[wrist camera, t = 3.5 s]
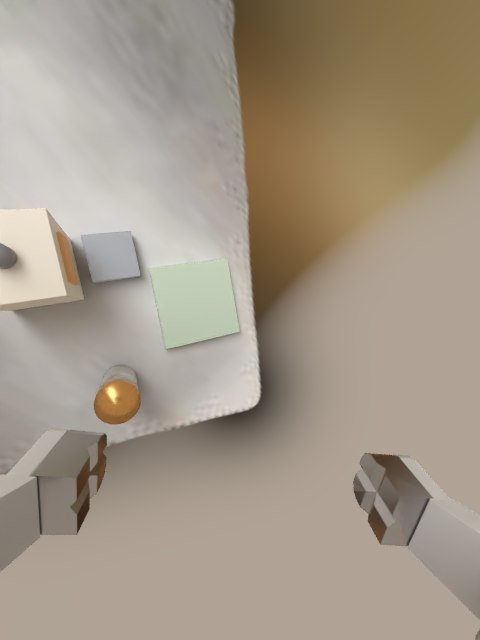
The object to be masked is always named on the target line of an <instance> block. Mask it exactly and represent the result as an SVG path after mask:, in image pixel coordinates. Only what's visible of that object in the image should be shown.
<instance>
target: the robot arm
mask: <svg viewBox="0 0 480 640" xmlns="http://www.w3.org/2000/svg"><path fill="white" fill-rule="evenodd" d="M106 445H107V435H106V434H105V433H96V432H86V431H76V430H63V429H53V428H51V429H49V430H47V431H46V432H45V433H44V434H43V435H42V436H41V437H40V438H39V439H38V440H37V441H36V443H35V444H34V445H33V446H32V447H31V448H30V449H29V450H28V451H27V452H26V454H25V455H24V456H23V457H22V458H21V459H20V460H19V461H18V462H17V463H16V465H15V466H14V467H13V468H12V469H11V470H10V471H9V472H8V473H7V474H6V475H0V572H1V571H2V570H3V569H4V568H5V567H6V566H8V565H9V564H10V563H11V562H12V561H13V560H14V559H16V558H17V557H18V556H19V555H20V554H21V553H22V552H23V551H25V550H26V549H27V548H28V547H29V546H30V545H32V544H33V543H34V542H35V541H36V540H37V539H38V538H39V537H40V535H43V534H45V535H48V534H49V535H53V534H54V535H55V534H56V535H66V534H67V535H77V533H78V531H79V530H80V527H81V525H82V523H83V521H84V519H85V517H86V515H87V513H88V511H89V505H90V503H89V502H90V498H92V497H93V496H94V495H96V494H97V492H98V490H99V488H100V485H101V483H102V480H103V477H104V474H105V468H106V456H105V455H104V453H103V451H104V449H105V447H106ZM360 465H361V467H362V469H361V470H360V471H358V472H357V473H356V475H355V478H354V482H353V484H354V493H355V497H356V499H357V502H358V504H359V505H360V507H361V508H362V509H363V510H365V511H366V512H367V513H368V514H369V515H368V522H369V524H370V526H371V528H372V530H373V532H374V534H375V535H376V537H377V539H378V541H379V543H380V544H381V545H396V546H408V549H409V550H410V551H411V552H412V553H413V554H414V555H415V556H416V557H417V558H418V559H419V560H420V561H421V562H422V563H423V564H424V565H425V566H426V567H427V568H428V569H429V570H430V571H431V572H432V573H433V574H434V575H435V576H436V577H437V578H438V579H439V580H440V581H441V582H442V583H443V584H444V585H445V586H446V587H447V588H448V589H449V590H450V591H451V592H452V593H453V594H454V595H455V596H456V597H457V598H458V599H459V600H460V601H461V602H462V603H463V604H464V605H465V606H466V607H467V608H468V609H469V610H470V611H471V612H472V613H473V614H474V615H475V616H476V617H477V618H478V619H479V620H480V516H479V515H478V514H476V513H475V512H473V511H471V510H470V509H468V508H467V507H465V506H464V505H462V504H460V503H459V502H457V501H456V500H450V499H449V498H448V496H447V495H446V494H445V493H444V492H443V491H442V490H441V488H440V487H439V486H438V485H437V484H436V483H435V482H434V481H433V480H432V479H431V477H430V476H429V475H428V474H427V473H426V472H425V471H424V470H423V469H422V467H421V466H420V465H419V464H418V463H417V462H416V461H415V460H414V459H413V458H412V457H410V456H407V455H385V454H384V455H383V454H370V453H365V454H364V455H363V456H362V458H361V460H360ZM475 640H480V630H479V631H478V633H477V634H476V638H475Z"/></svg>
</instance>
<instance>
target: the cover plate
mask: <svg viewBox="0 0 480 640" xmlns="http://www.w3.org/2000/svg"><path fill="white" fill-rule="evenodd" d="M81 238H82V242H83V246H84V250H85V254H86V259H87V263H88V267H89V271H90V275H91V279H92V282H93V283H101V282H108V281H115V280H122V279H129V278H136V277H140V270H139V266H138V261H137V257H136V252H135V248H134V243H133V239H132V235H131V231H125V232H113V233H100V234H88V235H81Z"/></svg>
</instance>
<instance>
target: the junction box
mask: <svg viewBox="0 0 480 640" xmlns="http://www.w3.org/2000/svg"><path fill="white" fill-rule="evenodd" d="M79 300H85V299H84V295H83V290H82V286H81V282H80V278H79V274H78V269H77V265H76V261H75V257H74V252H73V248H72V244H71V240H70V238H69V237H68V236H67V235H66V233H65V232H64V231H63V230H62V228H61V227H60V226H59V225H58V223H57V222H56V221H55V219H54V218H53V217H52V216H51V214H50V213H49V212H48V211H47V209H46V208H34V209H4V210H0V311H12V310H19V309H26V308H32V307H39V306H46V305H52V304H59V303H66V302H72V301H79Z"/></svg>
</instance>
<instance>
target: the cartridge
mask: <svg viewBox="0 0 480 640" xmlns="http://www.w3.org/2000/svg"><path fill="white" fill-rule="evenodd" d="M139 407H140V393H139V390H138V386H137V379H136V374H135V372H134V370H133V369H132V368H130V367H128V366H126V365H116V366H113V367H111V368H110V369H108V370H107V372H106V373H105V374H104V377H103V380H102V383H101V386H100V389H99V391H98V393H97V395H96V398H95V401H94V410H95V413H96V415H97V416H98V418H99V419H100V420H102V421H103V422H105V423H108V424H121V423H124V422H126V421H128V420H130V419H131V418H132V417H133V416H134V415H135V414H136V413H137V411H138V409H139Z"/></svg>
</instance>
